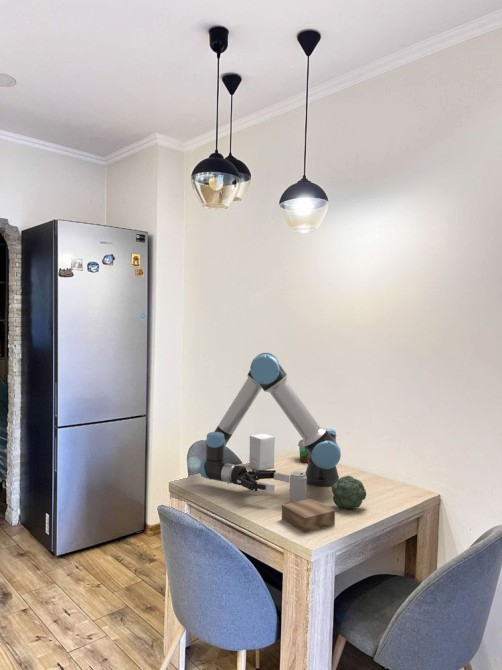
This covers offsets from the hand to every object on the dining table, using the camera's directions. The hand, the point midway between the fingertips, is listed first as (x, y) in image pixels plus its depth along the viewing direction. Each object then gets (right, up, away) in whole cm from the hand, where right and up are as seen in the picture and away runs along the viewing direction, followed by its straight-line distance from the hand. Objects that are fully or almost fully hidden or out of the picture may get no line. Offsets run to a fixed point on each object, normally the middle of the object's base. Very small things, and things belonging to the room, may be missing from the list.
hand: (281, 483), depth 186 cm
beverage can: (+6, -7, -3) cm, 10 cm away
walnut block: (+8, -7, -19) cm, 22 cm away
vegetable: (+25, -8, -3) cm, 26 cm away
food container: (+15, -6, +56) cm, 58 cm away
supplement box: (-7, -6, +45) cm, 46 cm away
